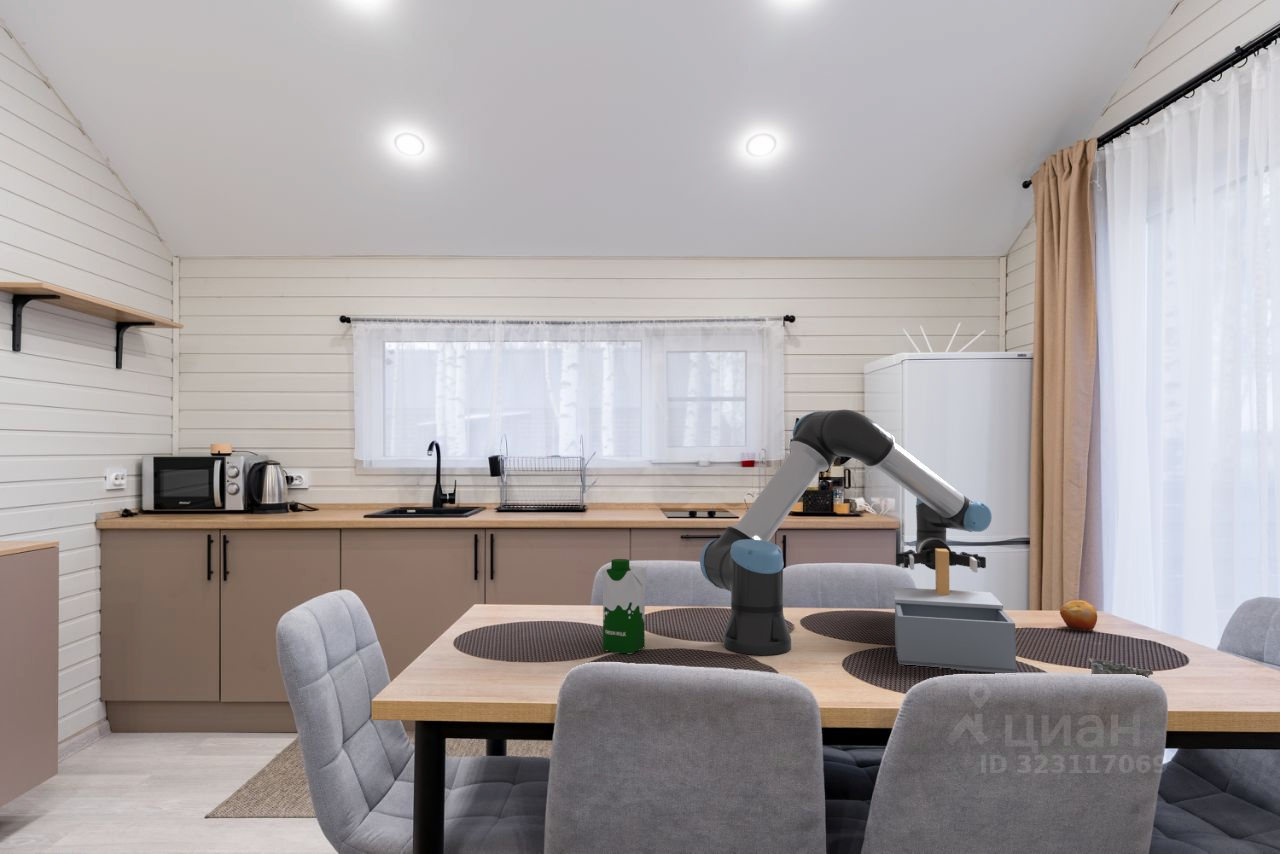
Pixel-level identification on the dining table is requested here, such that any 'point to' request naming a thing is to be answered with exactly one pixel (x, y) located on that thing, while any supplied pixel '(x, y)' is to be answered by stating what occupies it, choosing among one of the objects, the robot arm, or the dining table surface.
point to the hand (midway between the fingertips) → (943, 565)
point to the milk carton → (623, 607)
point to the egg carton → (1115, 668)
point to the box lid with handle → (945, 590)
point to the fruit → (1079, 615)
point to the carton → (955, 637)
